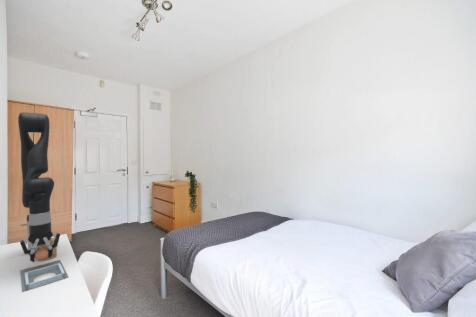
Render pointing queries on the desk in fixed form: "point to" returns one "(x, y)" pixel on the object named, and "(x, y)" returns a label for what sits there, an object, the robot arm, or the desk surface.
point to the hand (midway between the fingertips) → (41, 259)
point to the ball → (41, 254)
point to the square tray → (44, 276)
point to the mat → (39, 274)
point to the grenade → (54, 250)
